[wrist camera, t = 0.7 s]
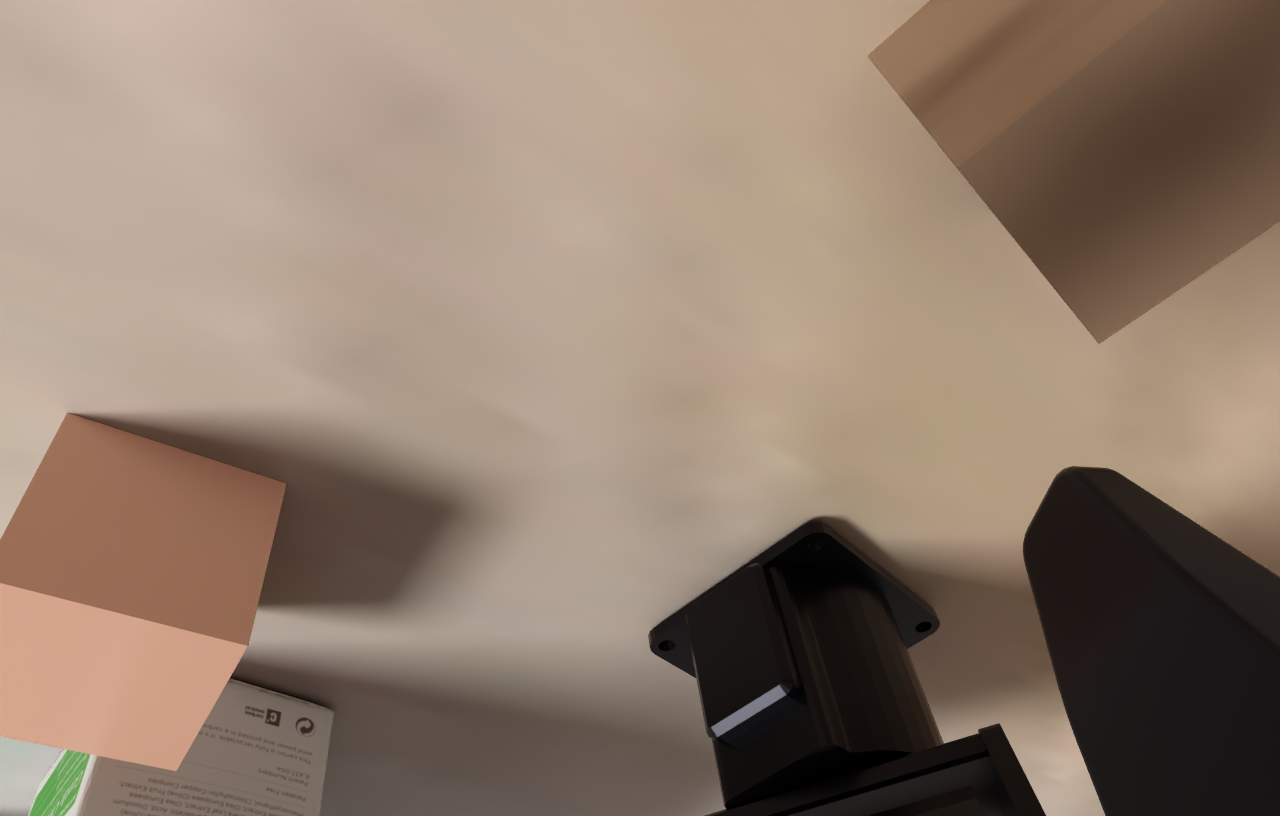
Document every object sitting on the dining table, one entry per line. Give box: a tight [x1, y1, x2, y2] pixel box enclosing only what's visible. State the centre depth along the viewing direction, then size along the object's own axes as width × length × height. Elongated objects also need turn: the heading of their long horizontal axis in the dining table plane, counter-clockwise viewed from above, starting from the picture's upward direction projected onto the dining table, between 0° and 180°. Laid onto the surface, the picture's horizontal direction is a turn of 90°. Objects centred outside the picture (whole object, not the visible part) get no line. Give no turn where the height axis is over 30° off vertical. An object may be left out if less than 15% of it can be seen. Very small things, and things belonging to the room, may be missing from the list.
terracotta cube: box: [0, 413, 286, 771], centre depth 23 cm, size 5×5×5 cm
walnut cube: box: [868, 0, 1280, 344], centre depth 18 cm, size 5×5×5 cm
